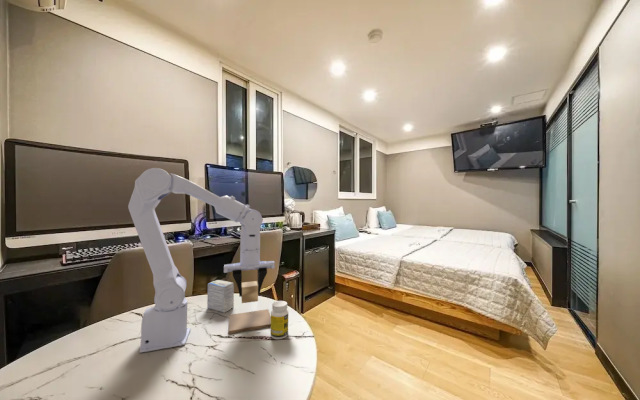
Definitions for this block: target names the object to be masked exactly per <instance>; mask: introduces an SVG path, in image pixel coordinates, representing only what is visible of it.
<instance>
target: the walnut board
mask: <svg viewBox="0 0 640 400" xmlns="http://www.w3.org/2000/svg"><path fill="white" fill-rule="evenodd" d="M266 328H271V312H270V310H269V309H268V308H267V309H266V308H265V309H260V310H253V311H252V310H251V311H246V312H240V313H233V314H229V316H228V335H230V334H236V333H237V334H238V333H243V332H247V331H248V332H249V331H252V330H259V329H266Z"/></svg>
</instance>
